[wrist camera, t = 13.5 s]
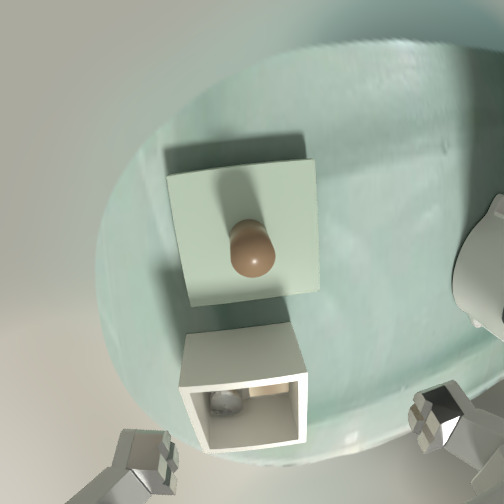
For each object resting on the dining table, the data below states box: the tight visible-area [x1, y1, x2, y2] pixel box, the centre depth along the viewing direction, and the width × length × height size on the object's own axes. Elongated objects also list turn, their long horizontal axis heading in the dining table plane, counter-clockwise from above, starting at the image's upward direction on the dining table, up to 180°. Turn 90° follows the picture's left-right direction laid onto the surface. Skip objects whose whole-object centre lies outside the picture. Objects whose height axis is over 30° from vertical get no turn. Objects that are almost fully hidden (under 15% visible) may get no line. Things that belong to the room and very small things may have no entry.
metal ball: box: [210, 388, 243, 416], centre depth 33 cm, size 4×4×3 cm
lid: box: [166, 158, 319, 307], centre depth 26 cm, size 12×12×7 cm
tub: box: [178, 322, 308, 454], centre depth 31 cm, size 11×11×8 cm
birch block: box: [249, 382, 289, 397], centre depth 31 cm, size 4×4×4 cm
